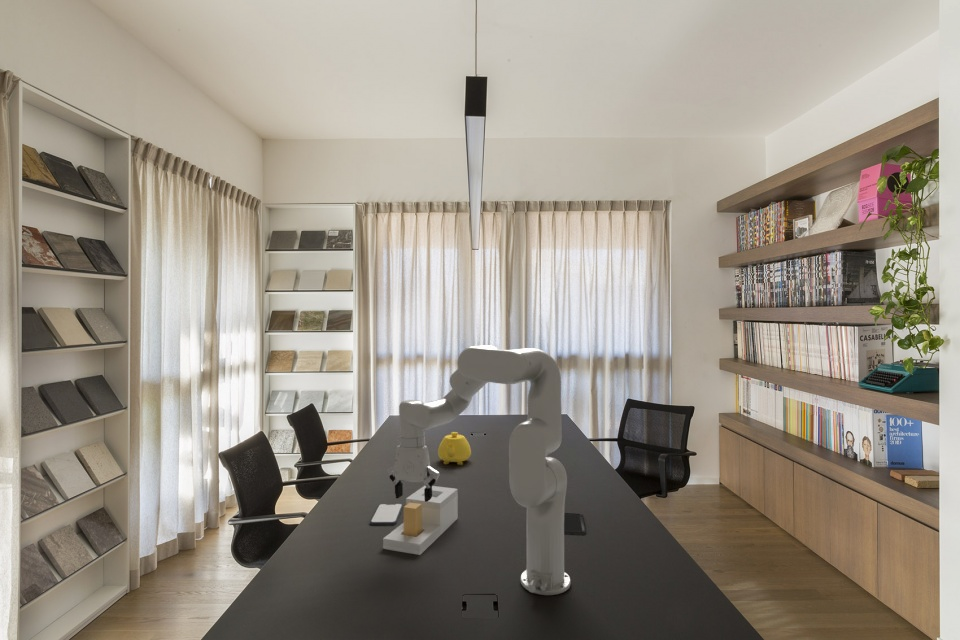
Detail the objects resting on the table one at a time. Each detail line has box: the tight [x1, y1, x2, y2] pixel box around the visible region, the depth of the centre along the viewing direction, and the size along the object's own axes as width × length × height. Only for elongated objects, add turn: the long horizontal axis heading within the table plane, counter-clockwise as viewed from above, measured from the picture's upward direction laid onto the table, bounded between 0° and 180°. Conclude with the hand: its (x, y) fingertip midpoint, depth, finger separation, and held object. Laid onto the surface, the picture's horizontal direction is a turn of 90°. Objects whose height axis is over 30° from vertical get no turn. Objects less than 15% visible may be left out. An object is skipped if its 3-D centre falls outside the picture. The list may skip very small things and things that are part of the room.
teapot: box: [437, 431, 472, 466], centre depth 238 cm, size 20×16×14 cm
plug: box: [403, 502, 422, 537], centre depth 154 cm, size 4×4×10 cm
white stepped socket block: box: [382, 485, 459, 556], centre depth 161 cm, size 28×12×10 cm, turn 160°
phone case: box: [369, 503, 404, 526], centre depth 175 cm, size 9×2×16 cm
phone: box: [564, 512, 587, 535], centre depth 167 cm, size 8×1×15 cm
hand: (413, 498), depth 154 cm, fingers open, 9 cm apart
